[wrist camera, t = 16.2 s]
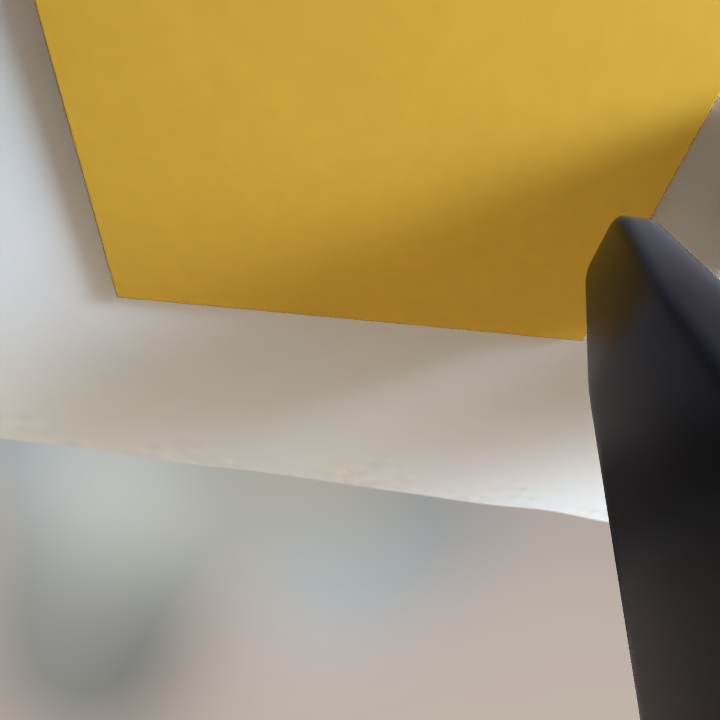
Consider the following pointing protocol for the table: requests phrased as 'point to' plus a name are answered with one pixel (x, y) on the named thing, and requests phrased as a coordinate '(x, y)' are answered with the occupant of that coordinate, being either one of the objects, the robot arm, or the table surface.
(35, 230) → the table surface
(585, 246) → the cloth
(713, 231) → the table surface
